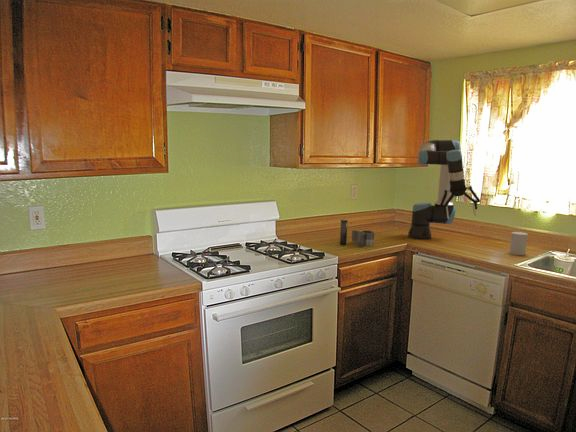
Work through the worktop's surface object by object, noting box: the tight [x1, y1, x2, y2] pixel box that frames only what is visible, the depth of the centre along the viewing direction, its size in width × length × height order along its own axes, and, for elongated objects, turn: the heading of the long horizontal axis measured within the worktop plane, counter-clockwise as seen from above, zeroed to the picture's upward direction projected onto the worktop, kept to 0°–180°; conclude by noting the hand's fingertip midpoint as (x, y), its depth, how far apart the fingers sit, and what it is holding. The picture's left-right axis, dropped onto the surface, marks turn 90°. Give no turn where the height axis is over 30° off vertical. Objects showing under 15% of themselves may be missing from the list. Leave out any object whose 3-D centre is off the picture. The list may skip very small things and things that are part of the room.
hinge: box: [351, 229, 375, 249], centre depth 257 cm, size 14×14×8 cm
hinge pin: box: [339, 217, 349, 247], centre depth 255 cm, size 5×5×16 cm
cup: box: [508, 231, 529, 256], centre depth 244 cm, size 8×8×12 cm
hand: (461, 216), depth 230 cm, fingers open, 13 cm apart
